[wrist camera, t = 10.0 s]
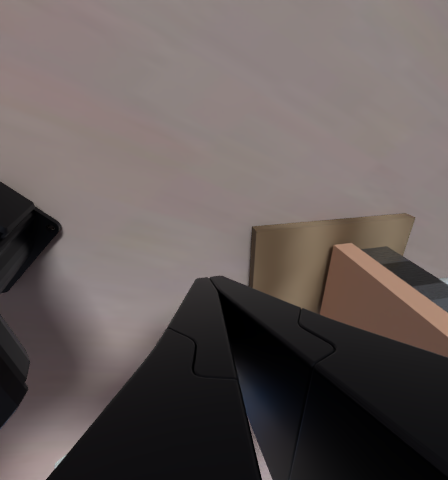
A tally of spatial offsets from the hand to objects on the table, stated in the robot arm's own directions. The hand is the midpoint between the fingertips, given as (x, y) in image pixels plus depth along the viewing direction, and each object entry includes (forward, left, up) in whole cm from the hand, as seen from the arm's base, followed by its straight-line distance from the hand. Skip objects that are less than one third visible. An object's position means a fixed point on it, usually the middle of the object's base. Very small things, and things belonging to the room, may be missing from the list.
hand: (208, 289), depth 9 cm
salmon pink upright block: (+6, -18, -11) cm, 22 cm away
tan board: (+3, -15, -12) cm, 19 cm away
